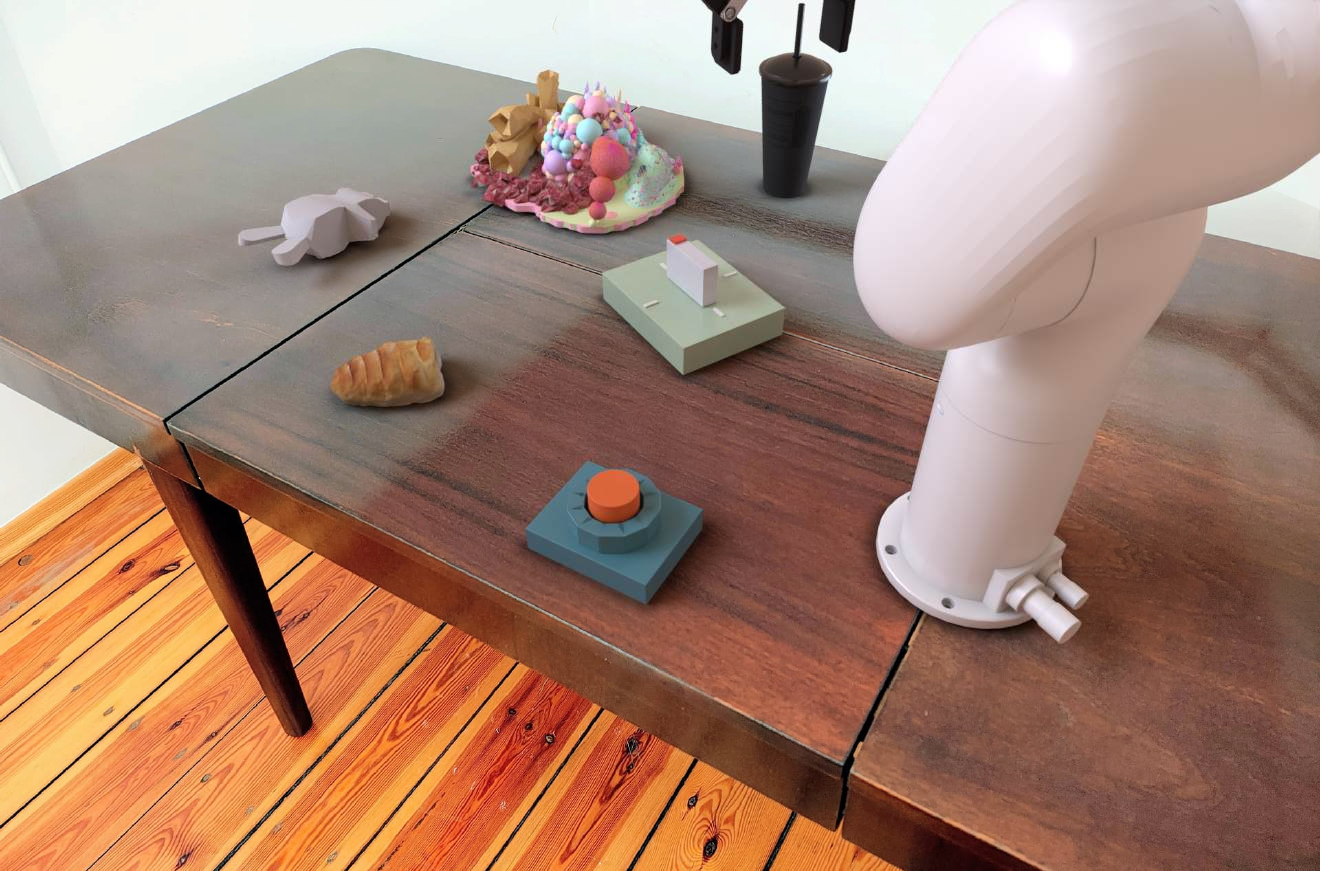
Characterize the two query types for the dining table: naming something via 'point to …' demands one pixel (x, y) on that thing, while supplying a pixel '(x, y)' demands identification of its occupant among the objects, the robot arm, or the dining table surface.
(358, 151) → the dining table surface
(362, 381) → the pastry
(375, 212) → the bunny figurine
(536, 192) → the pastel sphere sculpture
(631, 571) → the button block
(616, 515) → the button
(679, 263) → the white block with red
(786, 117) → the drinking cup
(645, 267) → the panel
